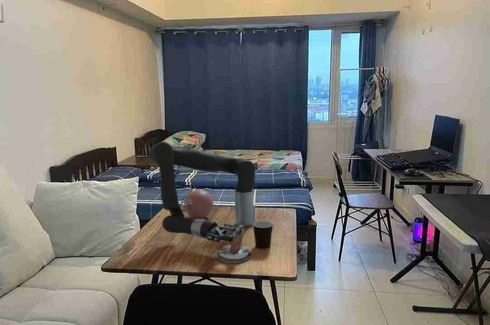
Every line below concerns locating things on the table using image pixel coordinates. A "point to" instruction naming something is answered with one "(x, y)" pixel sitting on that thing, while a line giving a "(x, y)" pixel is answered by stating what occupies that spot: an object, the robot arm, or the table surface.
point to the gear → (183, 200)
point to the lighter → (237, 239)
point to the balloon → (198, 204)
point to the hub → (233, 255)
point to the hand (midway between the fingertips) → (237, 235)
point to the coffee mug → (262, 234)
